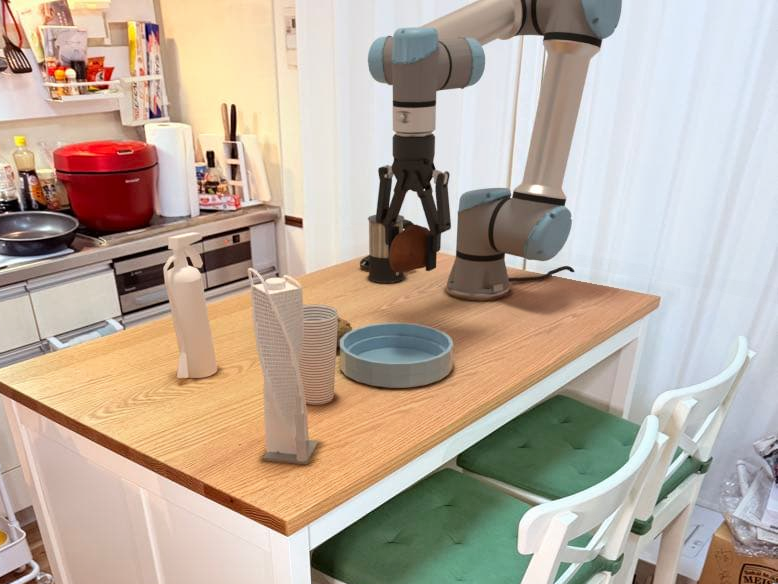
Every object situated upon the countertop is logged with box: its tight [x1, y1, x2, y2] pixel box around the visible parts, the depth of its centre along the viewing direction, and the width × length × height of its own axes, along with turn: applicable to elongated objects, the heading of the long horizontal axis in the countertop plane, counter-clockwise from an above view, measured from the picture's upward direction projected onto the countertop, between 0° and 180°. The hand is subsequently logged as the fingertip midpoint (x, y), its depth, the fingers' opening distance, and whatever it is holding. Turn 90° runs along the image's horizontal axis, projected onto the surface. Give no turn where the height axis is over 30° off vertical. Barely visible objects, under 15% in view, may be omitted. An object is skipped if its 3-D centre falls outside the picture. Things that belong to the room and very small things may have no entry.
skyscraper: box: [247, 267, 319, 466], centre depth 114 cm, size 8×8×28 cm
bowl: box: [339, 322, 455, 389], centre depth 148 cm, size 22×22×5 cm
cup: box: [299, 304, 339, 405], centre depth 133 cm, size 8×8×16 cm
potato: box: [389, 224, 430, 274], centre depth 146 cm, size 8×12×8 cm, turn 141°
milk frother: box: [359, 214, 415, 284], centre depth 196 cm, size 14×16×15 cm
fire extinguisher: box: [162, 231, 218, 379], centre depth 140 cm, size 7×12×25 cm, turn 153°
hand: (412, 265), depth 148 cm, fingers closed on potato, 8 cm apart
